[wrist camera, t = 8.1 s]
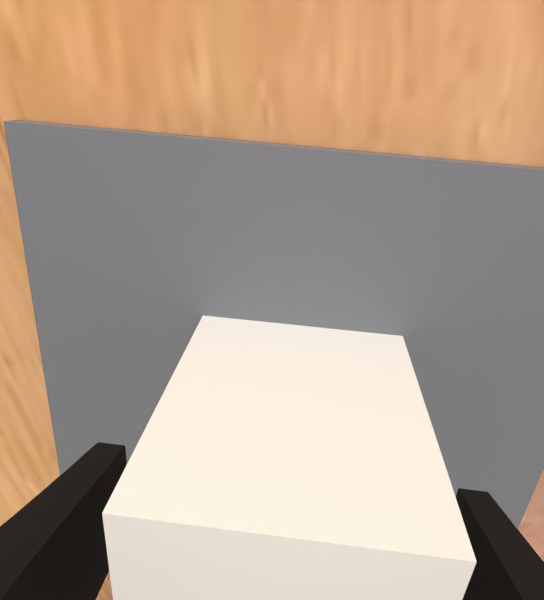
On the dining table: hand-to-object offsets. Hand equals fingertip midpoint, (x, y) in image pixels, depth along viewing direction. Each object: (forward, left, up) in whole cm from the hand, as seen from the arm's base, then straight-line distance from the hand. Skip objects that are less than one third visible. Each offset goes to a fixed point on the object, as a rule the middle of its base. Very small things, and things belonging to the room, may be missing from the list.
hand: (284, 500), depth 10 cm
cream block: (0, 0, -3) cm, 3 cm away
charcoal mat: (0, 0, -3) cm, 3 cm away
